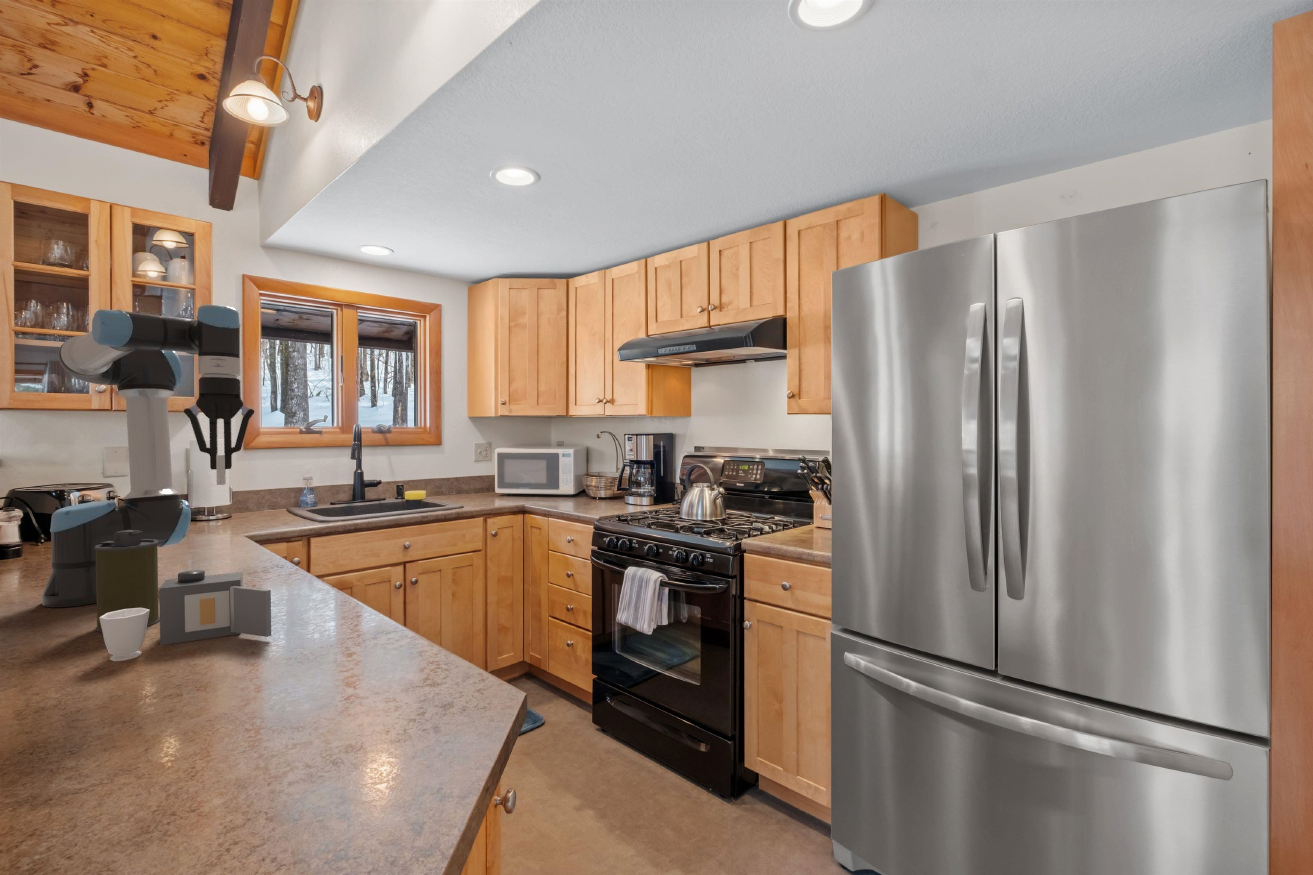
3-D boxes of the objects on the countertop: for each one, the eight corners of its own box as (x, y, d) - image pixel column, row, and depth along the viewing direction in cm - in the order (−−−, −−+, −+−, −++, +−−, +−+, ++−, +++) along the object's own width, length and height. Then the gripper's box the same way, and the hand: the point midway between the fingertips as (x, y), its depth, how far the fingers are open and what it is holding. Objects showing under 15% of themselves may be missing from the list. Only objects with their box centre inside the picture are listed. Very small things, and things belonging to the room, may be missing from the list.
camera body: (166, 633, 127) (165, 572, 126) (243, 622, 133) (242, 564, 133) (159, 645, 119) (158, 581, 119) (241, 634, 126) (240, 572, 126)
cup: (100, 667, 109) (99, 621, 109) (100, 651, 116) (99, 609, 116) (151, 657, 114) (150, 613, 113) (148, 643, 121) (147, 601, 121)
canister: (172, 617, 137) (171, 527, 137) (127, 633, 127) (126, 535, 126) (127, 616, 138) (126, 526, 138) (79, 631, 128) (77, 534, 127)
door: (265, 637, 121) (265, 591, 121) (229, 631, 124) (228, 587, 124) (272, 634, 123) (272, 589, 122) (236, 629, 126) (235, 585, 126)
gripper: (180, 374, 130) (182, 487, 130) (254, 377, 137) (255, 484, 137) (185, 377, 136) (186, 484, 137) (255, 379, 143) (257, 481, 144)
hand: (221, 484), depth 137 cm, fingers closed
